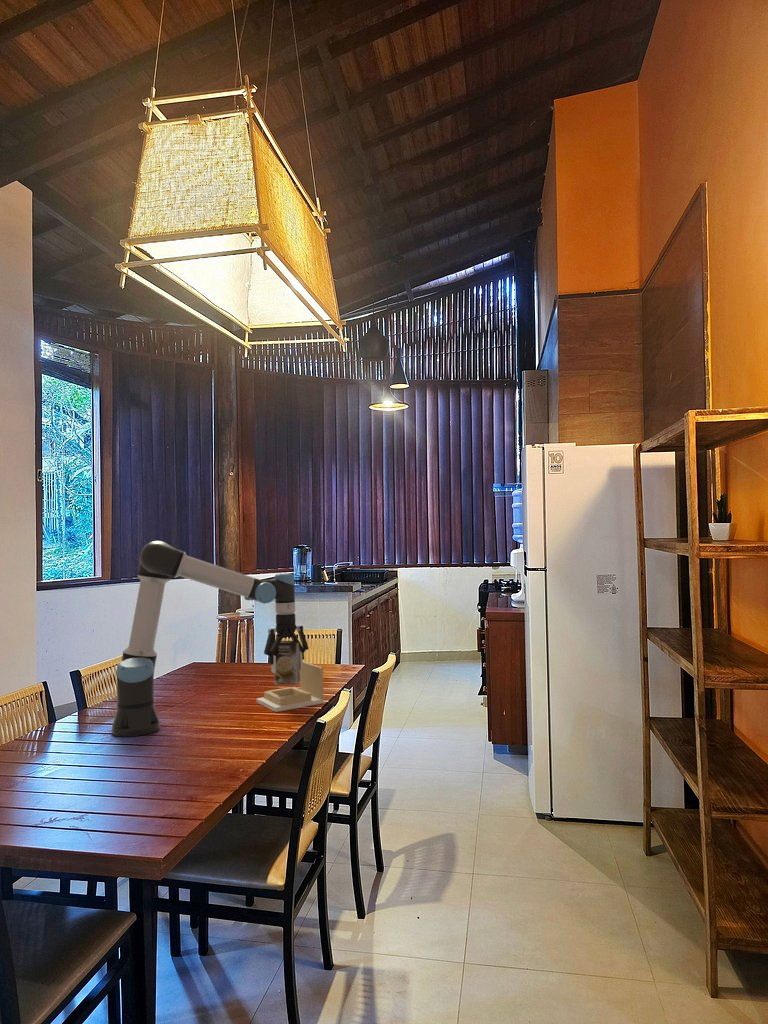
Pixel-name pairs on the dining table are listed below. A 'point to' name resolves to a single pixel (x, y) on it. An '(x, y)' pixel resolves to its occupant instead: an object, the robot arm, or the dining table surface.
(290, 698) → the display stand
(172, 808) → the dining table surface
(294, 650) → the coffee box
